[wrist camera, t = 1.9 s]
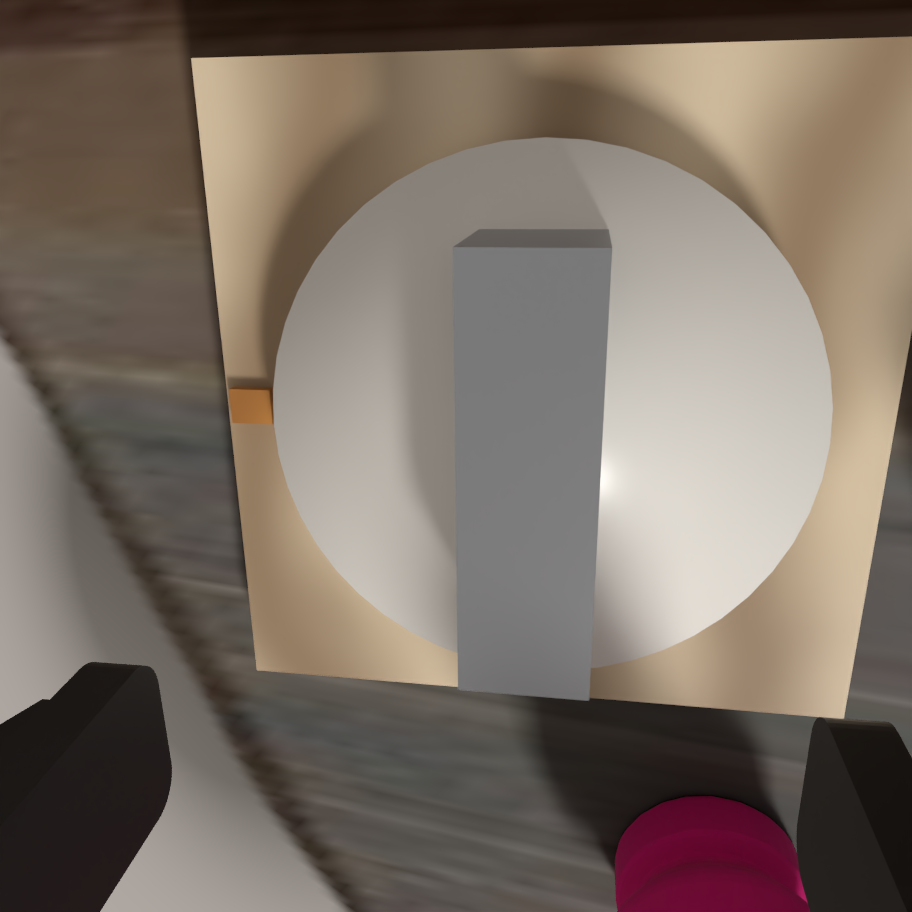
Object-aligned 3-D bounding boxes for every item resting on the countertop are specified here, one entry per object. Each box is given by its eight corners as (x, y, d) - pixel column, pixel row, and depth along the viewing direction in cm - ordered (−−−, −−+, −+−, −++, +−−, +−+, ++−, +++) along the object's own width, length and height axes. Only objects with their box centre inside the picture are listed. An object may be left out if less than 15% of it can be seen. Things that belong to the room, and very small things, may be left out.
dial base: (929, 45, 20) (968, 33, 18) (825, 678, 26) (846, 725, 24) (223, 65, 23) (185, 56, 21) (278, 636, 29) (253, 675, 27)
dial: (856, 133, 19) (951, 127, 14) (781, 658, 24) (832, 796, 19) (271, 142, 21) (169, 139, 16) (310, 623, 26) (240, 739, 21)
